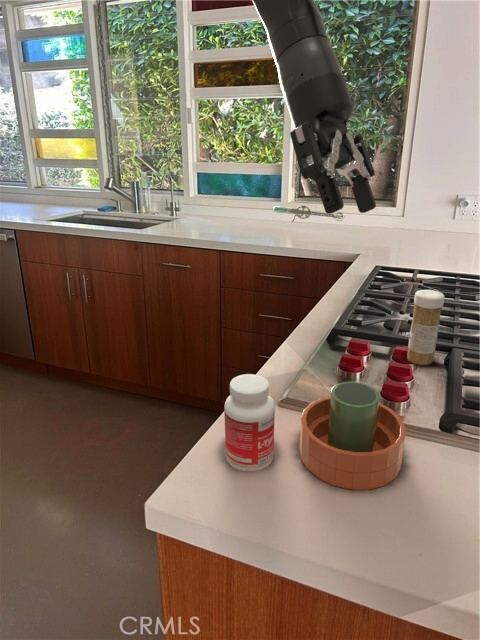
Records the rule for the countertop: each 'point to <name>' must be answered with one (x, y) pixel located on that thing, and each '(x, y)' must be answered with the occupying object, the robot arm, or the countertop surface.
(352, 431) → the green cup
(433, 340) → the sprinkles bottle
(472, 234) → the countertop surface
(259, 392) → the pill bottle
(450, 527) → the countertop surface
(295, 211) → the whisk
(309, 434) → the terracotta bowl
